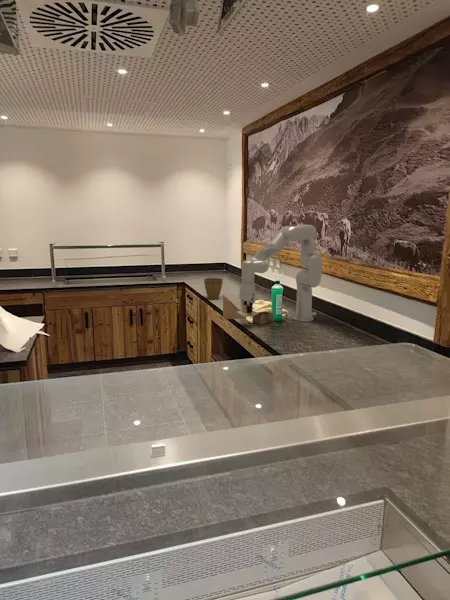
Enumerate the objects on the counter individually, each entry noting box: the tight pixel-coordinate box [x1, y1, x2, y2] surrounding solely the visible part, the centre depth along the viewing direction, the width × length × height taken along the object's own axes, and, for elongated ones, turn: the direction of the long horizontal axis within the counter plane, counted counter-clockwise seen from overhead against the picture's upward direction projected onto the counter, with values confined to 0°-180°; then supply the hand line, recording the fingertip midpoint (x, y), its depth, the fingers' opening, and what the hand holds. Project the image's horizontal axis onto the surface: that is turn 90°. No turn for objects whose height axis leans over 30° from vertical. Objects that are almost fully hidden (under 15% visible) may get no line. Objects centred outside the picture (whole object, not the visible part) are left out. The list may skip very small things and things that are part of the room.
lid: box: [236, 303, 259, 318], centre depth 251 cm, size 11×9×6 cm
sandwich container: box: [222, 294, 247, 320], centre depth 273 cm, size 9×15×15 cm, turn 97°
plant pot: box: [203, 277, 224, 301], centre depth 332 cm, size 15×15×16 cm
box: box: [252, 310, 274, 326], centre depth 259 cm, size 10×8×6 cm
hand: (247, 311), depth 252 cm, fingers closed on lid, 3 cm apart
